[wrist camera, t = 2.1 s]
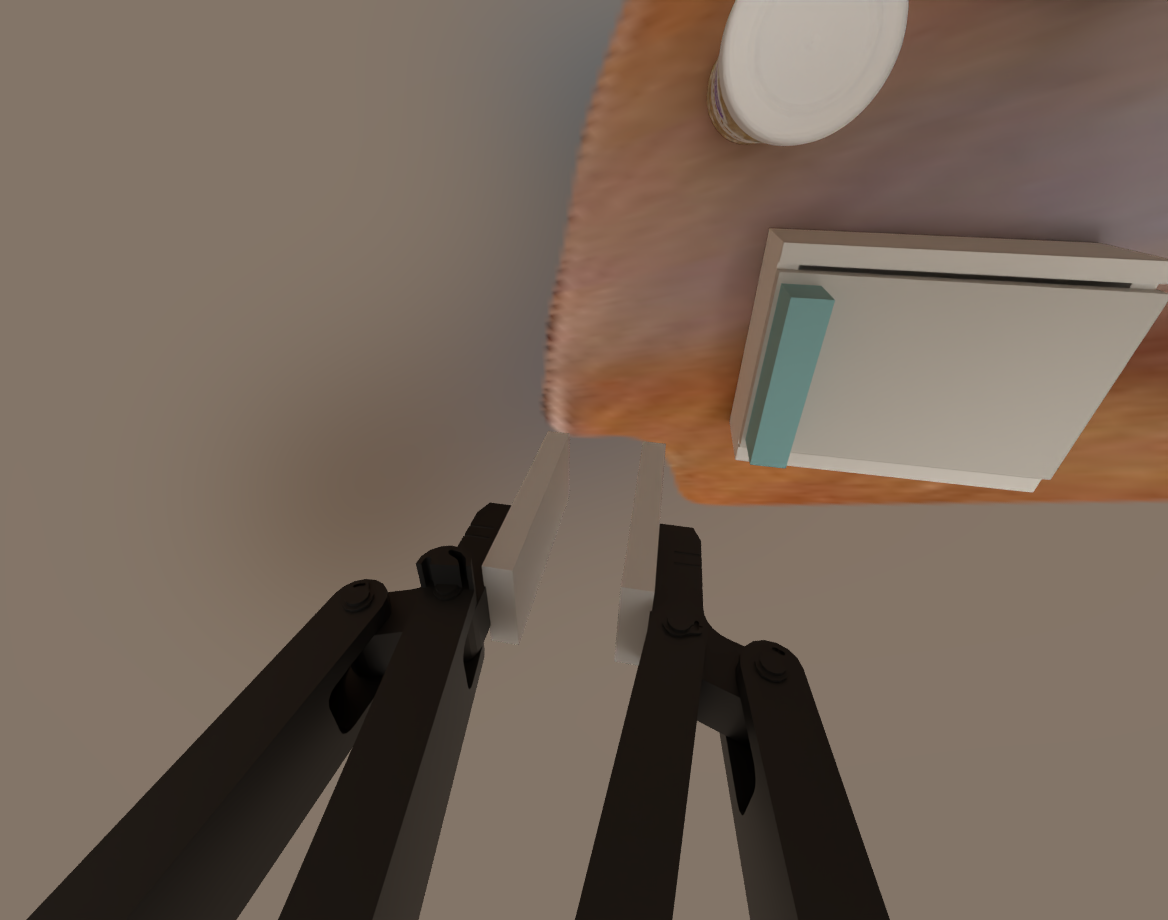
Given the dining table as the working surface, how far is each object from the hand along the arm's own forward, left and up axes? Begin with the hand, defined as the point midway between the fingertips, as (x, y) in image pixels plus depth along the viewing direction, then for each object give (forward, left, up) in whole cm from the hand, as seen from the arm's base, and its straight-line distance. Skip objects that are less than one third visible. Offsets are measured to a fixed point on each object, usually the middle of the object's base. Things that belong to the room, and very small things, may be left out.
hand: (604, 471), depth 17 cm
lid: (-14, 0, -12) cm, 19 cm away
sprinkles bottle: (-5, -12, -17) cm, 21 cm away
